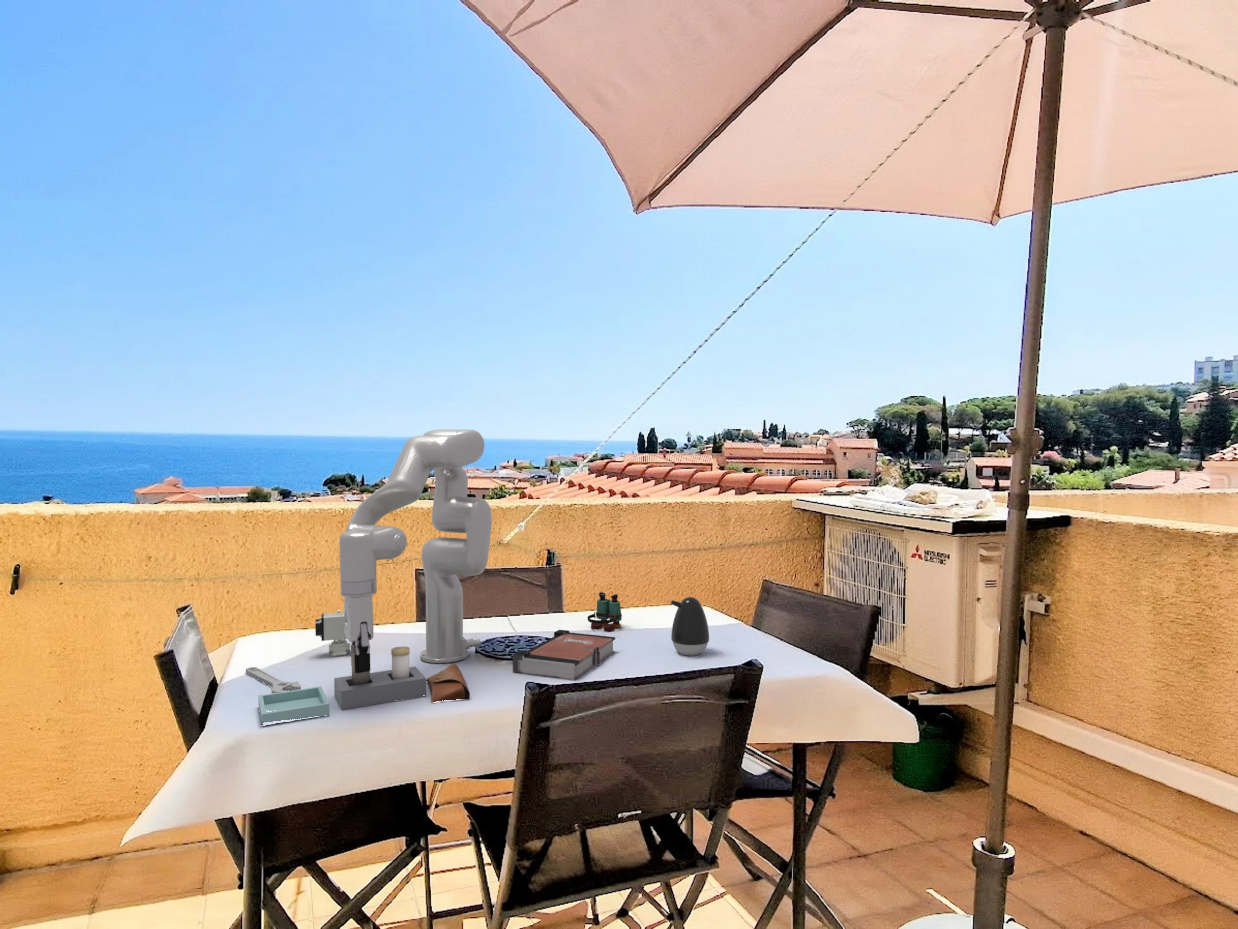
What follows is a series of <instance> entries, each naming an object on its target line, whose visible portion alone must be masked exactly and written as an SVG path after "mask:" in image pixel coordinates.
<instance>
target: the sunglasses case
mask: <svg viewBox="0 0 1238 929" xmlns="http://www.w3.org/2000/svg"><path fill="white" fill-rule="evenodd" d="M426 681H427V682H428V683H427V682H426V683H427V684H428V686H429V692H430V695H431V696H430V698H431V699H430V700H431V703H432V702H436V701H442V700H443V701H444V700H456V699H468V700H469V699H470V696H471V694H470V691H469V688H468V684H467V682H466V680H465V678H464V675H463V673H462V670H461V669H460V668H459V665H457V664H456V663H455V662H452V663H451V664H450V665H449V666H447V667H445V668H444V669H443V670H442V671H440V672H437V673H436V674H433V675H432V676H430V677H427V678H426Z"/></svg>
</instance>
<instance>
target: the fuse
mask: <svg viewBox="0 0 1238 929" xmlns="http://www.w3.org/2000/svg"><path fill="white" fill-rule="evenodd" d="M390 653H391V670H392V680H395V679H402V678H408V677H409V667H410V653H411V648H410V647H408V646H396V647H393V648H391V650H390Z"/></svg>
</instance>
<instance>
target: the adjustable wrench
mask: <svg viewBox="0 0 1238 929" xmlns="http://www.w3.org/2000/svg"><path fill="white" fill-rule="evenodd" d="M245 674H246V675H248V676H249V677H250V678H252V679H254V678H256V679H258V680H259V681H258V680H257V681H258V682H260V681H261V683H262V682H264V683H265V684H264V683H263V684H264V685H266V684H268V685H269V686H271V687H272V688H271V687H270V688H271V694H272V693H279V692H286V691H288V690H289V691H293V690H299V689H302V687H301V686H302V685H301V684H300V682H299V681H283V680H281V679H279V678H277V677H275V676H273V675H271V674H270V673H268V672H266V671H264V670H262V669H260V668H258V667H257V666H253V667H251V666H250V667H247V668H246V669H245ZM256 679H255V680H256ZM269 686H268V687H269Z"/></svg>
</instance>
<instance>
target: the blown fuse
mask: <svg viewBox="0 0 1238 929" xmlns="http://www.w3.org/2000/svg"><path fill="white" fill-rule="evenodd" d="M359 645H361V643H359ZM369 648H370V649H371V644H370V643H369ZM354 655H356V647H355V644H352V645H351V644H350V662H351V661H352V666H351V676H352V686H355V685H362V684H368V683H370V673H371V670H370V671H368V672H362V673H355V658H354Z"/></svg>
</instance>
